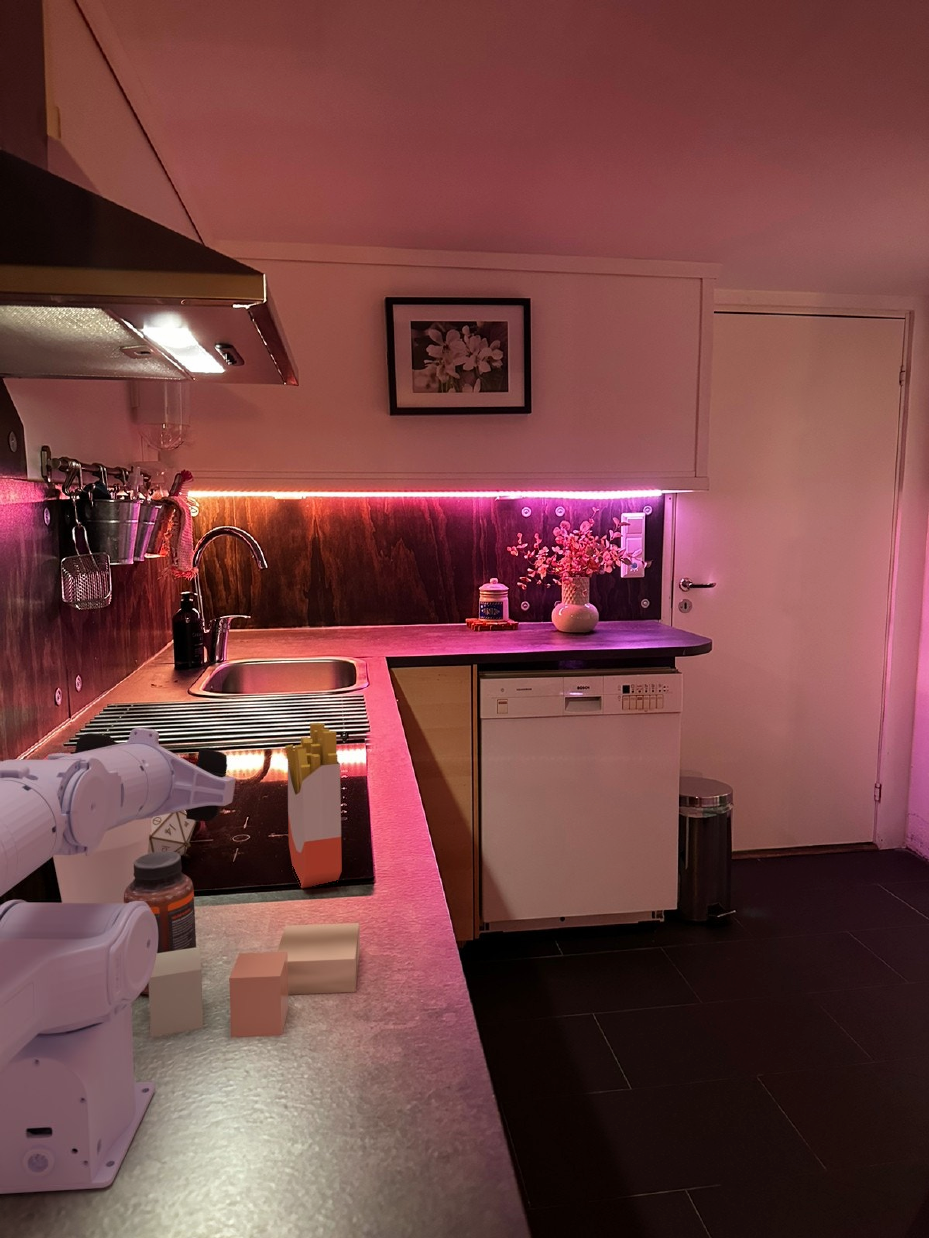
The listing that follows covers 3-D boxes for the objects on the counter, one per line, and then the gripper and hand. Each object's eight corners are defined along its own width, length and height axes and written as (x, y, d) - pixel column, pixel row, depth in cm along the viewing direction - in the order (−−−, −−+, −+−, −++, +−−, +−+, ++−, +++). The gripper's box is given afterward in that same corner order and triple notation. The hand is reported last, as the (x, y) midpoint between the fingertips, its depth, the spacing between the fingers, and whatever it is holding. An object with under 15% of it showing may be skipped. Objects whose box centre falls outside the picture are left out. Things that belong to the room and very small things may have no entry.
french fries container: (302, 898, 92) (299, 739, 90) (286, 863, 102) (282, 720, 100) (342, 891, 93) (340, 735, 92) (322, 858, 103) (320, 717, 102)
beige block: (203, 1028, 67) (201, 969, 66) (150, 1037, 66) (148, 977, 65) (201, 1002, 71) (200, 946, 70) (152, 1011, 69) (150, 954, 69)
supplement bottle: (205, 962, 77) (201, 845, 76) (186, 997, 71) (181, 870, 70) (141, 964, 77) (136, 846, 76) (116, 998, 71) (111, 871, 70)
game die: (180, 892, 102) (213, 838, 98) (110, 882, 98) (141, 825, 94) (181, 837, 109) (211, 785, 106) (115, 825, 105) (145, 770, 101)
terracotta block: (281, 1035, 66) (280, 975, 65) (231, 1038, 66) (229, 978, 65) (288, 1007, 70) (287, 951, 69) (240, 1010, 70) (239, 953, 69)
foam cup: (165, 915, 88) (160, 795, 86) (144, 957, 78) (139, 824, 77) (70, 921, 86) (64, 800, 85) (38, 965, 77) (32, 830, 76)
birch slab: (355, 991, 72) (354, 958, 72) (274, 995, 72) (273, 962, 71) (359, 952, 79) (359, 922, 79) (286, 955, 79) (285, 925, 78)
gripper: (216, 746, 60) (266, 734, 73) (22, 718, 60) (107, 711, 74) (200, 844, 59) (254, 813, 73) (5, 815, 60) (94, 790, 73)
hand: (179, 767), depth 73 cm, fingers open, 7 cm apart
